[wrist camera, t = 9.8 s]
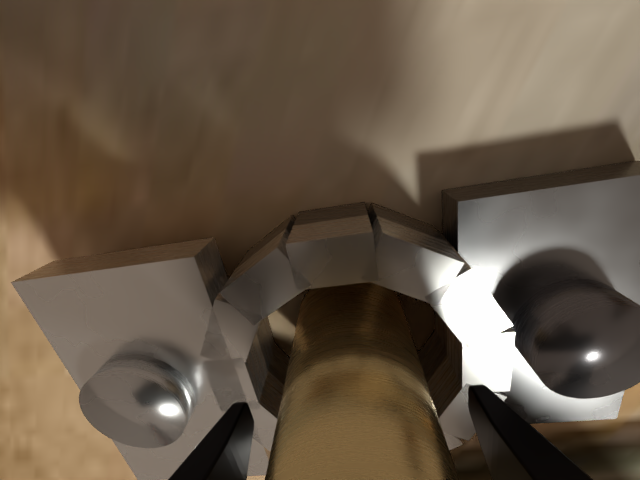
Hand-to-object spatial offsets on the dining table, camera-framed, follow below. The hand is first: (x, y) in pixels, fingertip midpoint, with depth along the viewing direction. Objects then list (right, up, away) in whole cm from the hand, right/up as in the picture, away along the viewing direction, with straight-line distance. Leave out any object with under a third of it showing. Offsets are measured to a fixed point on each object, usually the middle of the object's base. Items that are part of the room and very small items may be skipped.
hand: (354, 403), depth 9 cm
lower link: (+3, +2, +3) cm, 5 cm away
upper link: (-2, +1, +4) cm, 5 cm away
